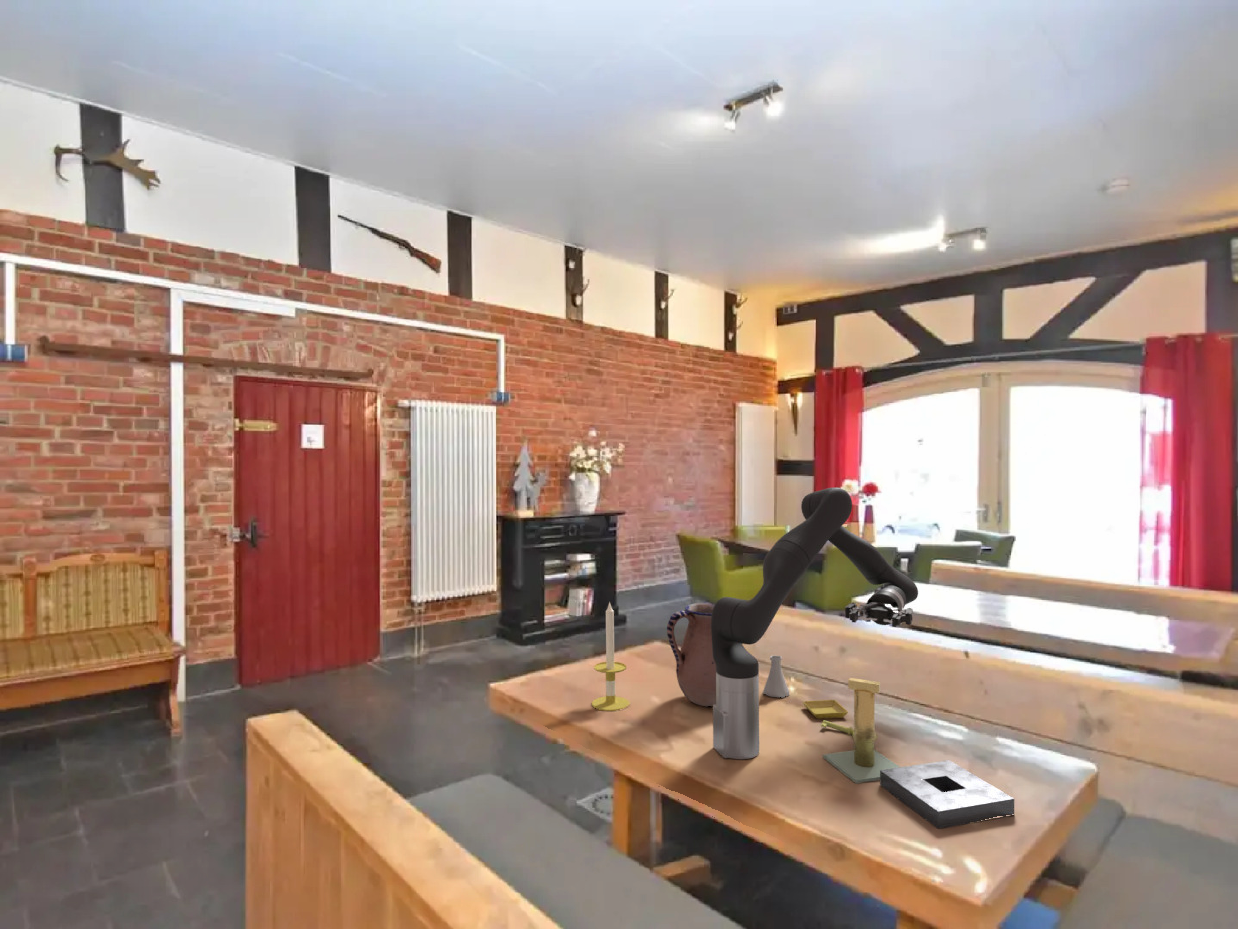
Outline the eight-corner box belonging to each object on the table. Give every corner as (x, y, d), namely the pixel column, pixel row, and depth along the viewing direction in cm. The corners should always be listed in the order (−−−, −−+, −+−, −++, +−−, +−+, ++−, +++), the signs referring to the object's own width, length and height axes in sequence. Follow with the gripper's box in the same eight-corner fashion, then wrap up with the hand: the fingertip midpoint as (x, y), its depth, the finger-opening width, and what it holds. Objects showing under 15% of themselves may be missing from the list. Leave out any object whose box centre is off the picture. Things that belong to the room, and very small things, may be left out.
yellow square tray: (814, 722, 165) (814, 713, 165) (802, 709, 174) (802, 700, 174) (849, 720, 166) (848, 712, 166) (834, 707, 174) (834, 699, 174)
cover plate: (938, 829, 117) (938, 811, 117) (880, 785, 132) (880, 770, 132) (1014, 815, 121) (1014, 798, 121) (949, 775, 136) (949, 760, 136)
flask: (785, 700, 179) (784, 662, 179) (758, 695, 183) (758, 658, 183) (793, 692, 185) (793, 655, 185) (767, 687, 189) (767, 651, 189)
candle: (626, 712, 172) (625, 606, 171) (587, 710, 173) (586, 605, 173) (632, 698, 181) (631, 597, 181) (596, 696, 183) (594, 596, 183)
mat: (856, 783, 133) (856, 780, 133) (822, 757, 145) (822, 754, 145) (908, 775, 136) (908, 772, 136) (871, 750, 148) (871, 748, 148)
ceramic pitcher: (758, 704, 176) (757, 608, 176) (696, 722, 164) (695, 619, 164) (712, 685, 191) (711, 597, 190) (652, 701, 179) (651, 607, 179)
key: (820, 728, 162) (820, 719, 162) (876, 734, 158) (875, 725, 158) (820, 740, 155) (820, 730, 155) (877, 746, 151) (877, 737, 151)
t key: (847, 763, 140) (847, 681, 140) (851, 756, 144) (851, 676, 144) (877, 770, 137) (877, 686, 137) (881, 762, 141) (881, 680, 141)
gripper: (854, 587, 167) (840, 600, 153) (917, 593, 160) (908, 606, 146) (855, 618, 167) (840, 633, 153) (917, 624, 160) (908, 641, 146)
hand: (873, 620), depth 150 cm, fingers open, 8 cm apart
